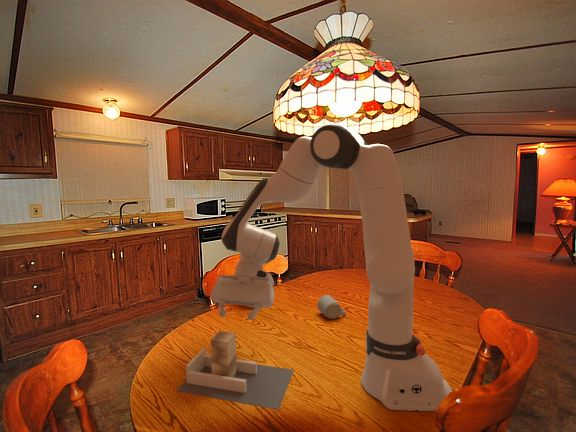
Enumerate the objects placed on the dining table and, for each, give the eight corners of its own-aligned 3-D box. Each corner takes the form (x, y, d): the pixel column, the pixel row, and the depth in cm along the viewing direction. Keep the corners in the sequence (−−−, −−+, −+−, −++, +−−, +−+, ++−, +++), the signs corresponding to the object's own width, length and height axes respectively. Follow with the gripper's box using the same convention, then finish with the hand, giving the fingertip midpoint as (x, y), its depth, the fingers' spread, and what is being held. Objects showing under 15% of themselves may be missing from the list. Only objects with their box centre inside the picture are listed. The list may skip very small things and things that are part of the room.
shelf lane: (294, 371, 87) (293, 353, 86) (278, 411, 72) (278, 389, 71) (206, 358, 94) (206, 341, 93) (175, 392, 79) (174, 372, 78)
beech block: (236, 373, 86) (235, 333, 84) (229, 384, 81) (227, 342, 80) (220, 371, 87) (219, 331, 86) (212, 381, 82) (210, 340, 81)
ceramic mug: (326, 321, 119) (326, 302, 118) (317, 313, 126) (317, 295, 125) (349, 317, 122) (349, 299, 121) (339, 310, 130) (339, 292, 129)
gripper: (215, 269, 99) (200, 310, 91) (274, 273, 94) (265, 317, 86) (222, 278, 104) (208, 318, 96) (278, 283, 99) (270, 325, 91)
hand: (235, 317), depth 91 cm, fingers open, 8 cm apart
